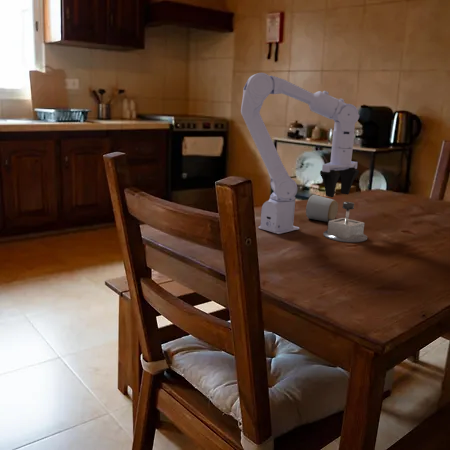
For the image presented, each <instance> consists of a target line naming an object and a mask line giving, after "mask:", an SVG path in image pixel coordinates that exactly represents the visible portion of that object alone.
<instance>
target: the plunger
mask: <svg viewBox="0 0 450 450" xmlns="http://www.w3.org/2000/svg"><path fill="white" fill-rule="evenodd" d="M354 207H355V202H352V201H343V202H342V209H344V210H346V211H345V217H344V218H345V220H343V221H338V223H342V224H346V225H353V224H357V223H354V222H350V221H348V220H349V219H350V211H351V210H354Z"/></svg>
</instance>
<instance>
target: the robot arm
mask: <svg viewBox="0 0 450 450" xmlns="http://www.w3.org/2000/svg"><path fill="white" fill-rule="evenodd" d="M279 94H281V95H284V96H287V97H289V98H292V99H295V100H297V101H299V102H303V103H304V104H307V105H308V107H309V110H310V111H311V112H312V113H314V114H317V115H320V116H321V117H324V118H327V119H328V120H333V122H334V126H333V132H332V143H331V152H330V153H331V154H330V162H327V163H323V164H322V167H321V170H320V172H319V175H320V176H321V180H322V181H323V185H324V186H323V187H324V192H325V196H326V197H327V198H328V197H329V198H334V196H335V193H336V188H337V185H338V184H337V183H338V180H339V179H340V193H341V194H343V195H349V194H350V191H351V188H352V186H353V183H354V181H355V179H356V178H357V176H358V175H359V173H360V170H358V161H352V156H353V149H354V138H355V127H356V123H358V120H359V119H360V114H359V110H358V108H357V106H355V105H354V104H352V103H346V102H345V99H343V98H337V97H334V96H332V95H329V94H330V93H329V91H327V90H323V91H321V90H318V91H316V92H311V91H308V90H307V89H304V88H302V87H300V86H299V85H296V84H294V83H292V82H291V81H288V80H286V79H285V78H282V77H281V78H280V77H278V76H275V75H269V74H267V73H265V72H258V73H255V74H252V75H250V76H249V78H248V79H247V80H246V83H245V84H244V86H243V90H242V100H241V107H240V114H241V116H242V119H243V120H244V123H245V125H246V128H247V130H248V131H249V134H250V136H251V138H252V140H253V142H254V145H255V146H256V149H257V151H258V153H259V155H260V158H261V160H262V161H263V163H264V166H265V168H266V170H267V174H268V176H269V178H270V188H271V190H272V191H273V192H272V193H271V194H270V195H269V199H268V200H266V201H265V202H264V203H263V204H262V206H261V212H260V213H261V215H260V225H259V226H258V229H260V230H264V231H266V232H270V233H274V234H276V235H277V234H278V235H281V234H284V233H288V232H293V231H297V230H300V227H299V226H295V225H294V224H295V223H294V219H295V209H296V208H295V207H296V195H297V193H298V184H297V182H296V181H295V180H294V179H292V177H291V176H290V175H289V173H288V170H287V169H286V167H285V165H284V163H283V161H282V159H281V158H280V155H279V153H278V151H277V148H276V146H275V144H274V142H273V140H272V137H271V134H270V133H269V131H268V129H267V126H266V125H265V122H264V120H263V118H262V116H261V114H260V112H261V109H262V106H263V105H264V102H265V100H266V99H267V97H269V96H270V95H279ZM337 171H338V172H339V173H338V172H337Z"/></svg>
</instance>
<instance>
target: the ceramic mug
mask: <svg viewBox="0 0 450 450" xmlns="http://www.w3.org/2000/svg"><path fill="white" fill-rule="evenodd" d="M338 209H339V203H338V202H337V201H336V200H335V199H332V198H331V197H329V198H328V197H325V196H321V195H317V194H312V195H310V196H309V198H308V200H307V203H306V207H305V216H306V218H307V219H308V220H309V219H310V220H315V221H321V222H324V223H325V222H326V223H328V219H334V220H335V219H337V215H338V213H339V212H338V211H339V210H338Z"/></svg>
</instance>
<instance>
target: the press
mask: <svg viewBox="0 0 450 450" xmlns="http://www.w3.org/2000/svg"><path fill="white" fill-rule="evenodd" d="M343 220H345V217H340V218H335V219H328V222H327V230H324V231H323V236H324V237H325V238H327V239H329V240H332V241H336V242H339V243H340V242H342V243H352V244H354V243H363V242H366V241H367V240H368V236H367V235H366V234H365V233H364V231H365V222H363V221H358V220H355V219H352V218H351V219H350V218H349V220H348V221H350V222H354V223H357V224H353V225H346V224H342V223H338V221H343Z"/></svg>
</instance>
